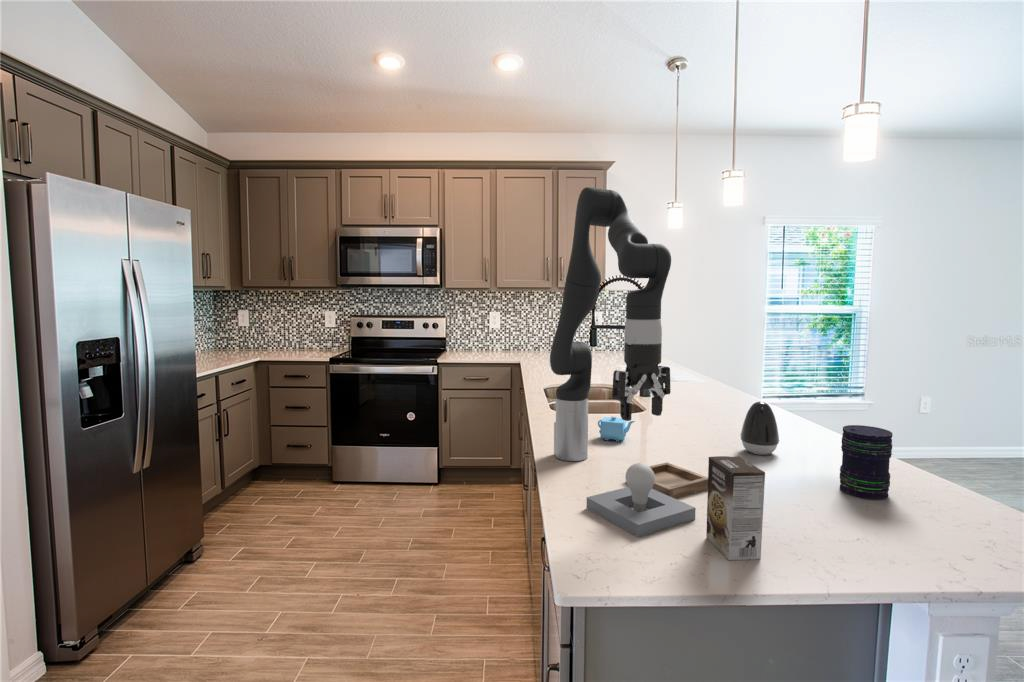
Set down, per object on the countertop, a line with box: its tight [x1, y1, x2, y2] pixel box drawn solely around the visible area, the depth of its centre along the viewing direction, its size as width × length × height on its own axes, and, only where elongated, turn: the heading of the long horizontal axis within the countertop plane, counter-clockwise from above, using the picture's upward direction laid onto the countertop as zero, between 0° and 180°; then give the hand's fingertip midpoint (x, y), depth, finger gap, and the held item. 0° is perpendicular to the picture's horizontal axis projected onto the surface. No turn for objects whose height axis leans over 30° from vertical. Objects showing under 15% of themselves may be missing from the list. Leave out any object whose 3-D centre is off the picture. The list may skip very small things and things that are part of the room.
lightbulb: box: [625, 462, 655, 512], centre depth 112 cm, size 6×6×11 cm
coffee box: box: [706, 455, 766, 561], centre depth 96 cm, size 9×6×16 cm
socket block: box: [586, 486, 696, 538], centre depth 112 cm, size 16×16×2 cm
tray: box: [648, 462, 708, 499], centre depth 129 cm, size 14×14×2 cm
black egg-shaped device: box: [740, 401, 780, 456], centre depth 154 cm, size 10×10×15 cm
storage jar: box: [839, 424, 893, 501], centre depth 123 cm, size 10×10×15 cm
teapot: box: [597, 415, 636, 442], centre depth 169 cm, size 12×6×8 cm, turn 69°
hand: (641, 417), depth 111 cm, fingers open, 8 cm apart
